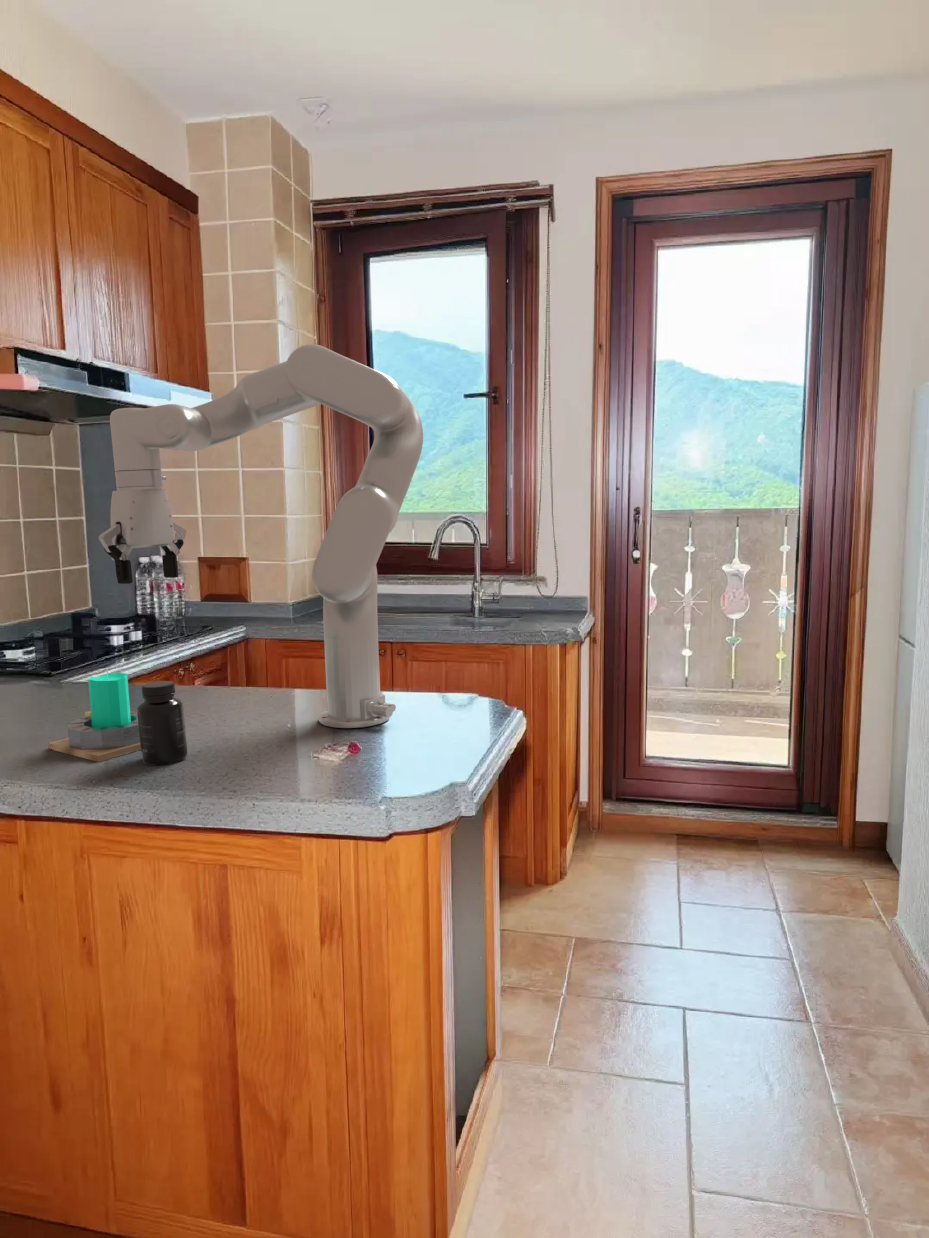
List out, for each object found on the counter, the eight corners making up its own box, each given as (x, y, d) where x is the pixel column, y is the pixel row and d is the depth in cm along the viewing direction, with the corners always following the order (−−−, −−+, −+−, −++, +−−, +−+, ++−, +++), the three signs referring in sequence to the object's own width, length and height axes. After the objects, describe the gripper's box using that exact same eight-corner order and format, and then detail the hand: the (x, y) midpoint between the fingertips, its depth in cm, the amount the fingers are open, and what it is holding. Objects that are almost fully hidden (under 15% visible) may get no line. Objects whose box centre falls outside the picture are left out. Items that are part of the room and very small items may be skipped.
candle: (131, 731, 149) (126, 662, 147) (132, 740, 144) (126, 668, 142) (93, 736, 147) (87, 665, 145) (92, 745, 141) (86, 672, 140)
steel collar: (168, 734, 147) (167, 712, 146) (99, 754, 136) (97, 730, 136) (122, 724, 154) (121, 703, 154) (53, 742, 144) (51, 719, 143)
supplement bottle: (171, 750, 141) (166, 677, 139) (196, 757, 137) (191, 682, 135) (132, 760, 136) (126, 685, 134) (156, 768, 132) (150, 690, 130)
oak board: (174, 739, 147) (173, 734, 147) (98, 761, 136) (98, 755, 136) (124, 728, 155) (123, 723, 155) (48, 748, 144) (48, 742, 144)
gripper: (165, 482, 161) (174, 575, 163) (81, 483, 146) (91, 585, 149) (193, 480, 157) (202, 575, 159) (109, 481, 142) (120, 586, 145)
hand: (148, 580), depth 154 cm, fingers open, 9 cm apart
